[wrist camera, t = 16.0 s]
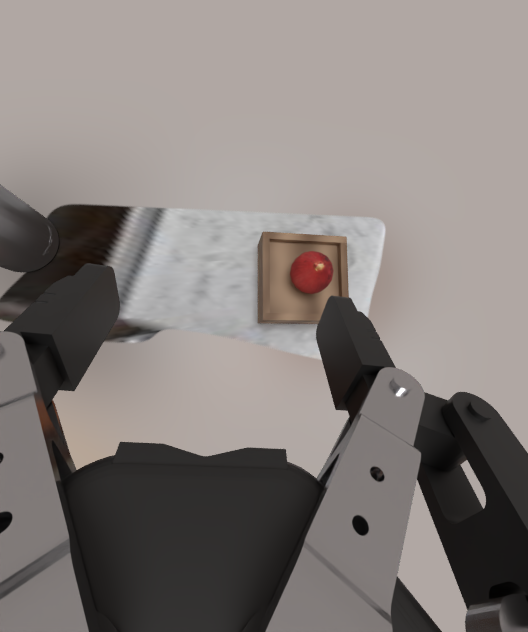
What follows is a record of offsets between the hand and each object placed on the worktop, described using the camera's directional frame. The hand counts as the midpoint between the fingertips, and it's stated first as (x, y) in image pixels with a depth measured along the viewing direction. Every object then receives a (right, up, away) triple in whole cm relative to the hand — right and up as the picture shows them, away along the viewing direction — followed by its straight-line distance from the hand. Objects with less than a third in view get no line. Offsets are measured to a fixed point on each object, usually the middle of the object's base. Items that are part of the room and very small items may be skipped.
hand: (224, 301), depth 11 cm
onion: (+8, +5, +32) cm, 33 cm away
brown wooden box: (+7, +5, +36) cm, 37 cm away
